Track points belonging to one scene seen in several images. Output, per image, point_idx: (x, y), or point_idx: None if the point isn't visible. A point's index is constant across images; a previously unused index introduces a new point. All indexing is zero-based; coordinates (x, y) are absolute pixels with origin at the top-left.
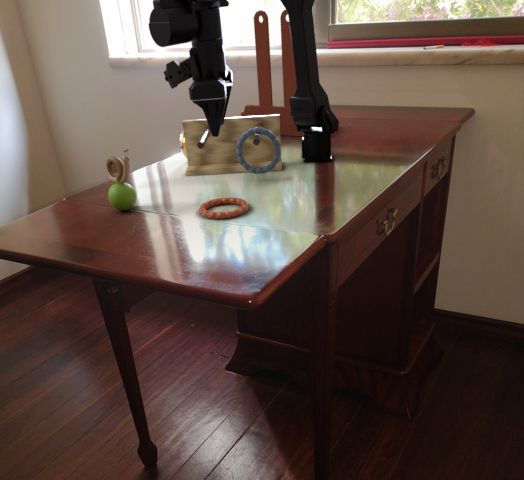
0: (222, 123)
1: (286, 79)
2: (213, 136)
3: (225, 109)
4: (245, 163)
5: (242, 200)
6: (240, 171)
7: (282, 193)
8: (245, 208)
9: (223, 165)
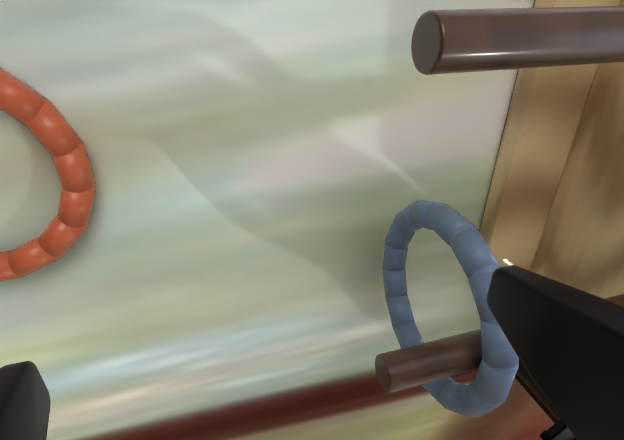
0: (495, 309)
1: None
2: (8, 369)
3: (580, 438)
4: (410, 225)
5: (38, 255)
6: (503, 141)
7: (218, 330)
8: None
9: (573, 66)
